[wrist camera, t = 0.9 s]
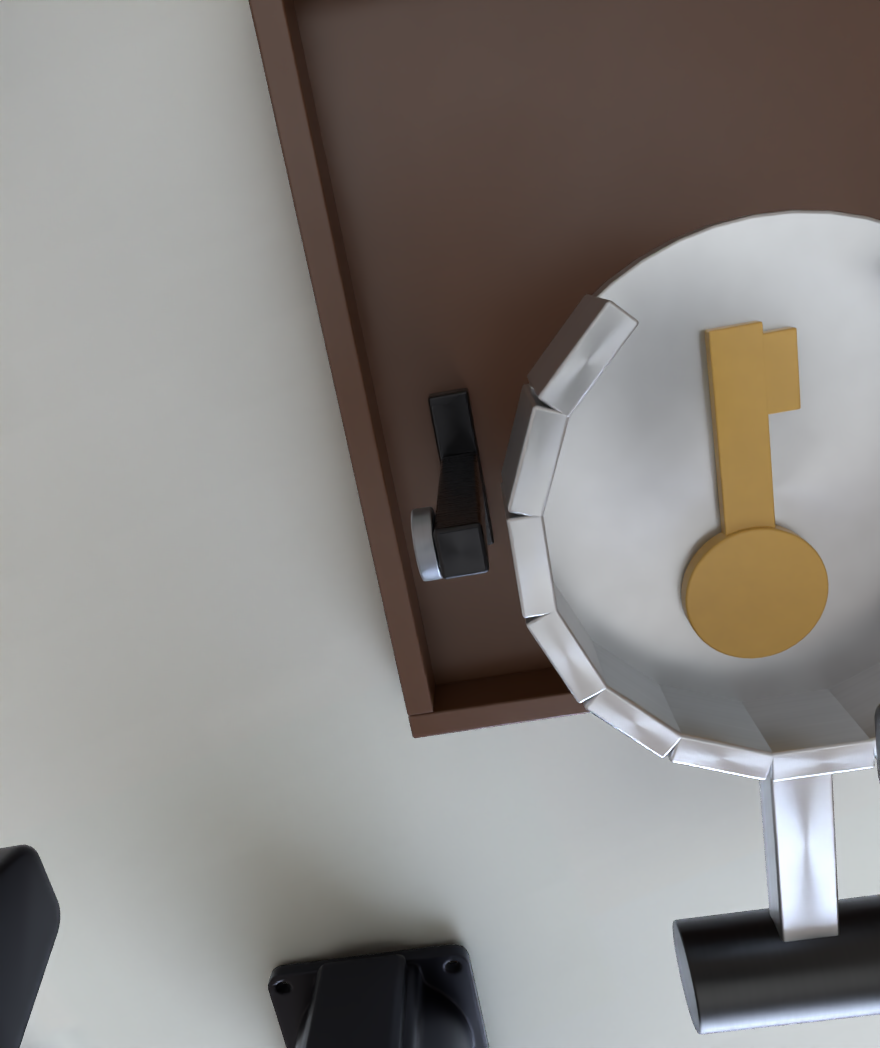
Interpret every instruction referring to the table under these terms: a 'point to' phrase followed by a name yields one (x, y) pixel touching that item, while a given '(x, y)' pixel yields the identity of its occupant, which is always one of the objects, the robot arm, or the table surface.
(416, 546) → the stand
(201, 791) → the table surface
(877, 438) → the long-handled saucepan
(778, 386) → the key
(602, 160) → the tray
